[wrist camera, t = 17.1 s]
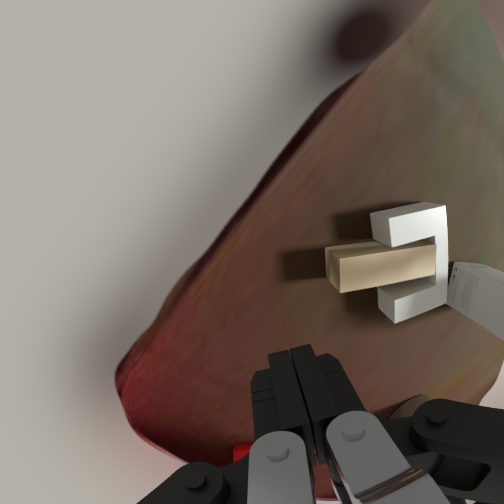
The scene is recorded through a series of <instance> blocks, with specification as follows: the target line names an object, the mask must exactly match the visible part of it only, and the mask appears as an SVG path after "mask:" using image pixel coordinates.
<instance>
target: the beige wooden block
mask: <svg viewBox="0 0 504 504" xmlns="http://www.w3.org/2000/svg"><path fill="white" fill-rule="evenodd" d="M436 247H437V244H435V243H432V242H429V241H427V240H424V239H421V240H417V241H414V242H410V243H406V244H403V245H399V246H396V247H390V246H388V245H385V244H383V243H381V242H379V241H371V242H363V243H355V244H348V245H340V246H332V247H325V259H326V278H327V279H328V280H329V281H330V282H331V283H332V284H333V285H334V287H335V288H336V289H337V290H338V291H339V292H340V293H343V292H349V291H355V290H360V289H366V288H371V287H377V286H382V285H387V284H392V283H397V282H402V281H407V280H412V279H416V278H421V277H426V276H430V275H435V265H436Z"/></svg>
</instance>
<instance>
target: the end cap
mask: <svg viewBox="0 0 504 504" xmlns="http://www.w3.org/2000/svg"><path fill="white" fill-rule="evenodd" d="M370 219H371V227H372V235H373V239H375V240H377V241H379V242H381V243H383V244H385V245H388V246H390V247H396V246H399V245H403V244H406V243H410V242H414V241H417V240H421V239H424V240H427V241H429V242H432V243H435V244H437V247H436V265H435V275H430V276H426V277H421V278H416V279H412V280H407V281H402V282H397V283H392V284H387V285H382V286H377V290H378V308H379V309H380V310H381V311H382V312H383V313H384V314H385V315H386V316H387V317H388V318H389V319H390V320H391V321H393V322H394V323H398V322H401V321H403V320H406V319H409V318H411V317H414V316H416V315H419V314H421V313H424V312H426V311H429V310H431V309H434V308H436V307H438V306H441V305H443V304H445V303H447V285H448V236H447V218H446V206H445V205H440V204H434V203H428V202H420V203H415V204H410V205H406V206H401V207H396V208H392V209H387V210H382V211H378V212H373V213H370Z"/></svg>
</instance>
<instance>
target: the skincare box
mask: <svg viewBox="0 0 504 504" xmlns="http://www.w3.org/2000/svg"><path fill="white" fill-rule="evenodd" d="M445 304H447V305H449V306H450V307H452V308H453V309H455V310H457V311H458V312H460V313H461V314H463V315H465V316H466V317H468V318H469V319H471V320H472V321H474V322H476V323H477V324H479V325H480V326H482V327H483V328H485V329H486V330H488V331H489V332H491V333H492V334H494V335H495V336H497V337H498V338H500V339H501V340H503V341H504V272H501V271H499V270H496V269H494V268H491V267H489V266H486V265H484V264H478V263H467V262H454V264H453V268H452V272H451V277H450V281H449V285H448V289H447V303H445Z"/></svg>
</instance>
